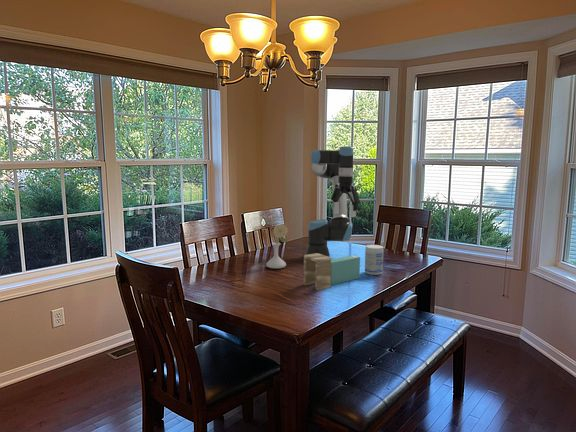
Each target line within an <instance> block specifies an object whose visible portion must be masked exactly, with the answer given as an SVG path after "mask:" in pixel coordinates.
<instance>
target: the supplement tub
mask: <svg viewBox="0 0 576 432" xmlns="http://www.w3.org/2000/svg"><path fill="white" fill-rule="evenodd" d="M364 253H365V254H364V255H365V256H364V273H365V274H367V275H370V276H381V275H382V274H383V271H384V267H383V266H384V246H382V245H379V244H367V245H366V246H365V250H364Z"/></svg>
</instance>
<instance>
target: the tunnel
mask: <svg viewBox="0 0 576 432" xmlns="http://www.w3.org/2000/svg"><path fill="white" fill-rule="evenodd" d="M331 259H332V257H331V256H330V257H328V256H325V255H322V254H319V253H314V254H308V255H305V254H304V255H303V285H304V286H310V285H313V284H314V286H315V288H314V289H315V290H316V291H322V290H325V289H329V288H331Z"/></svg>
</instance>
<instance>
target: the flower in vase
mask: <svg viewBox="0 0 576 432" xmlns="http://www.w3.org/2000/svg"><path fill="white" fill-rule="evenodd" d="M288 232H289V229H288V228H287V226H286V225H284V224H282V223H281V224H277V225H275V226H274V228H273V230H272V233H273V236H274V237H276V238H278V239H279V240H277V239H275V238H273V240H274V241H276V242H272V243H271V245H272V246H273V257H272V258H270V259H269V260H268V261H267V262H266V264H265V266H266V267H267V268H270V269H284V268H285V267H286V266H287V263H286V262H285V260H283V259H282V258H281V257H280V256H279V249H280V248H279V247H280V246H281V243H280V242H282V243H286V242H288V240H287V239H286V238H285V237H286V236H287V234H288Z"/></svg>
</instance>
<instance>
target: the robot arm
mask: <svg viewBox="0 0 576 432" xmlns="http://www.w3.org/2000/svg"><path fill="white" fill-rule="evenodd" d="M354 153H355V151H354V147H353V146H339V149H338V150H335V149H333V150H332V149H330V150H327V149H315V150H311V152H310V162H311V172H312V173H313V174H314V175H315V176H317V177H319V178H322V179H329V181H330V182H331V183H332V196H331V198H330V200H331V201H332V214H333V215H332V217H331V218H330V221H328V219H325V218H324V219H322V218H321V219H315V220H312V221H309V223H308V229H307V232H308V233H307V235H308V238H307V239H308V241H307V243H308V245H307V248H306V251H305V253H304V255H308V254H314V253H319V254H322V255H325V256H328V257H331V253H330V251H329V247H328V242H349V241H350V240H351V238H352V231H353V222H352V221H350V218H349V217H348V204H347V203H348V201H347V198H349V200H350V201H351V211H350V213H351V214H350V217H351V218H355V217H357V211H358V205H359V204H361V201H360V198H359V193H358V192H357V185H352V184H353V182H354V181H353V180H354V179H353V178H354V177H353V175H354ZM347 196H348V197H347Z"/></svg>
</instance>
